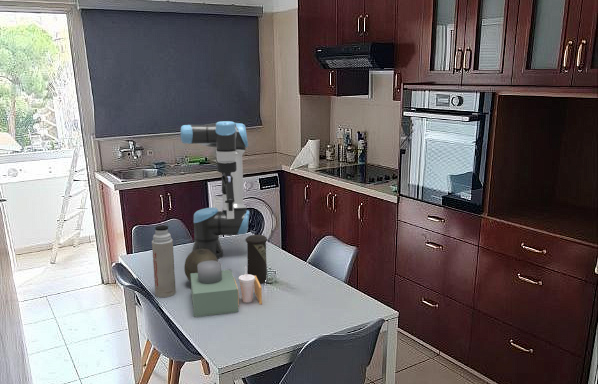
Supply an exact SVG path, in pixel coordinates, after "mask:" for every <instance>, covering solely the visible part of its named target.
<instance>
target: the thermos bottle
mask: <svg viewBox="0 0 598 384" xmlns="http://www.w3.org/2000/svg"><path fill="white" fill-rule="evenodd" d="M154 229H155V231H154V232H155V233H154V234H153V235H152V236H153V237H152V240H151V248H152V249H151V250H152V262H153V278H154V279H153V281H154V291H155V292H154V294H155V296H156V297H159V298H168V297H172V296H174V295H176V293H177V288H176V274H175V273H176V272H175V256H174V239H173V238H172V236H171V233H170V232H169V226H168V225H166V224H165V225H157V226H155V228H154Z"/></svg>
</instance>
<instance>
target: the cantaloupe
mask: <svg viewBox="0 0 598 384" xmlns="http://www.w3.org/2000/svg"><path fill="white" fill-rule="evenodd" d="M210 260H213V261H219V260H218V259H217V257H216V256H215V255H214V254H213V253H212V252H211V251H210V250H208V249H197V250H194V251H192V250H191V252H190V253H189V254H188V255H187V257H186V259H185V262H184V266H183V268H184V274H185V276H186V277H185V278H187V280H188V281H189V282H190V283H191V275H190V273H198V267H197V265H198V264H199V263H200V262H203V261H210Z"/></svg>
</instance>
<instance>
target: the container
mask: <svg viewBox="0 0 598 384" xmlns="http://www.w3.org/2000/svg"><path fill="white" fill-rule="evenodd" d="M267 241H268V238H267V237H266V235H263V234H251V235H248V236H247V237H246V238H245V242H246V244H247V245H246V247H247V249H246V251H247V253H246V255H247V259H246V261H247V262H246V263H247V265H246V269H247V274H251V275H254V276H256V277H257V279H258V281H259V283H260V285H261V284H262V285H263V284H264V283H266V282H265V280H266V275H267V276H268V268H267V267H268V266H267V264H268V263H267Z"/></svg>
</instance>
